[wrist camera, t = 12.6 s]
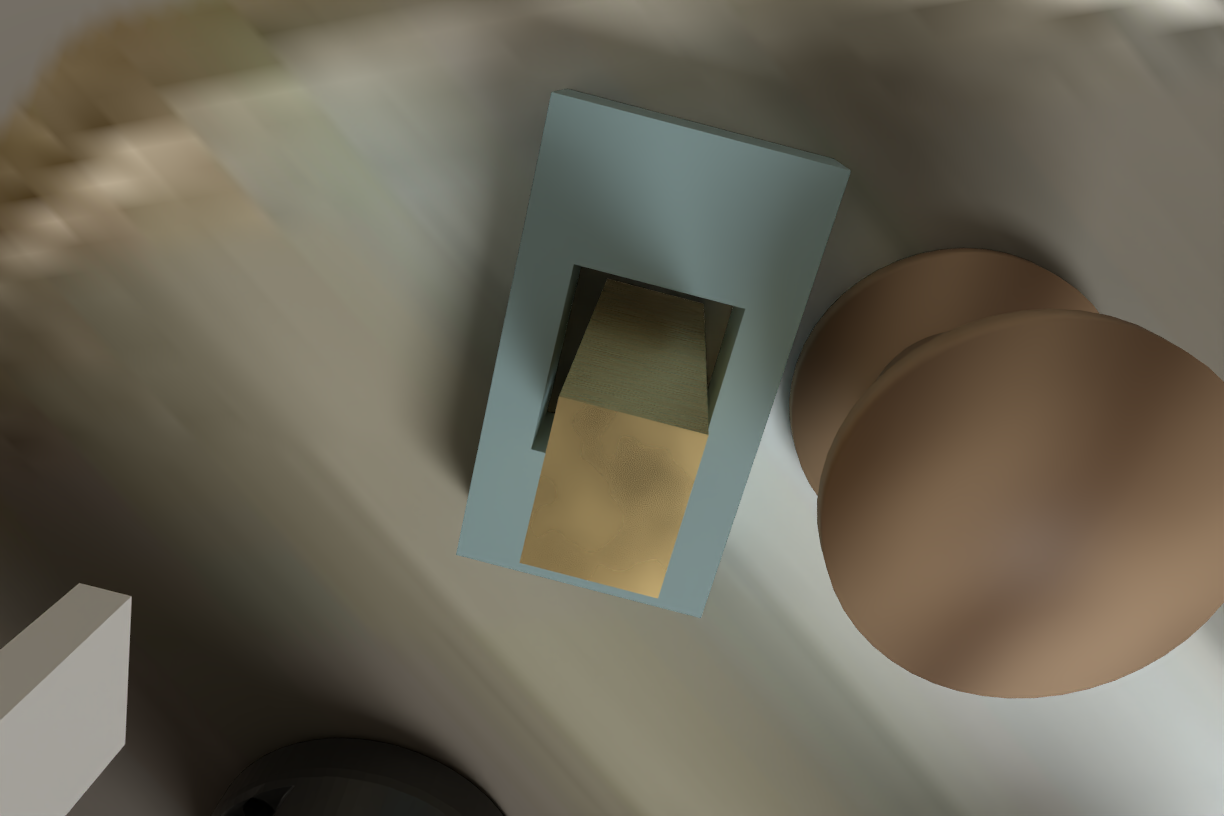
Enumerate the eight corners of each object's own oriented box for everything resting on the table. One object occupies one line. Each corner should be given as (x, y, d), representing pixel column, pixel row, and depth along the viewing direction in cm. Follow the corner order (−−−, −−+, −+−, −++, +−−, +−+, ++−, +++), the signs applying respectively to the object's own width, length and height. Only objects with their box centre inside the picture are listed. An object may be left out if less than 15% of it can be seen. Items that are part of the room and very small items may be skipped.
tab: (670, 418, 33) (657, 598, 22) (578, 394, 33) (519, 562, 22) (703, 303, 31) (708, 435, 20) (607, 278, 31) (558, 396, 20)
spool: (751, 496, 34) (769, 642, 25) (848, 211, 30) (909, 270, 21) (1031, 569, 34) (1144, 738, 25) (1166, 294, 30) (1353, 387, 21)
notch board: (700, 566, 35) (700, 618, 32) (478, 509, 35) (455, 554, 32) (833, 158, 29) (850, 170, 26) (567, 88, 29) (551, 91, 26)
